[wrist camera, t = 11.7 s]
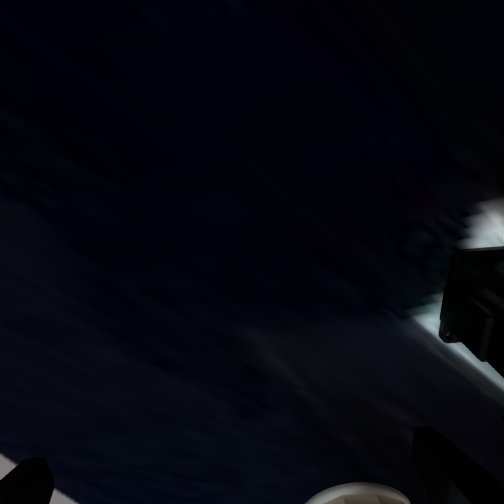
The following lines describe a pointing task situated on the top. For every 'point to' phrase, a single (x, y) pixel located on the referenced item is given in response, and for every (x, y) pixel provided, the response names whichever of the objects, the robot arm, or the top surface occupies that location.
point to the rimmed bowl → (359, 494)
